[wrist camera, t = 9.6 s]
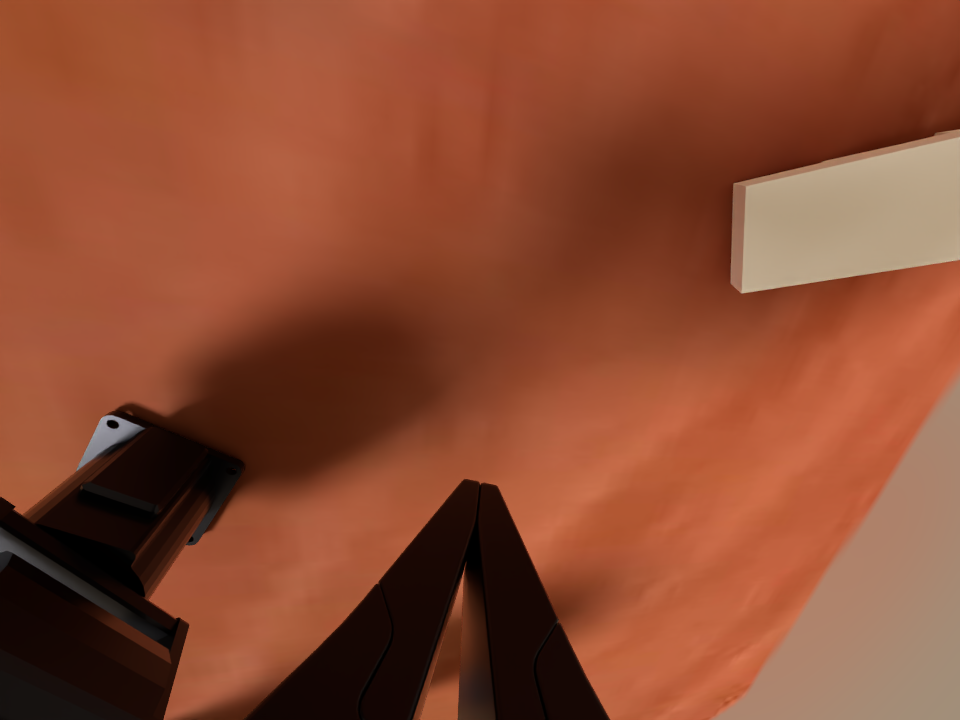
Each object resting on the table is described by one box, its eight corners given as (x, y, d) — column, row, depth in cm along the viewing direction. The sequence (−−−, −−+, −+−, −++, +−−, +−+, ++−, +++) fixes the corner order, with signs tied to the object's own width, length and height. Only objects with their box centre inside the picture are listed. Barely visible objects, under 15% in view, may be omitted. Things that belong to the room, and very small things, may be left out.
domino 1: (741, 293, 19) (1023, 250, 16) (745, 186, 17) (1073, 110, 13) (730, 283, 20) (987, 242, 17) (733, 183, 18) (1027, 114, 15)
